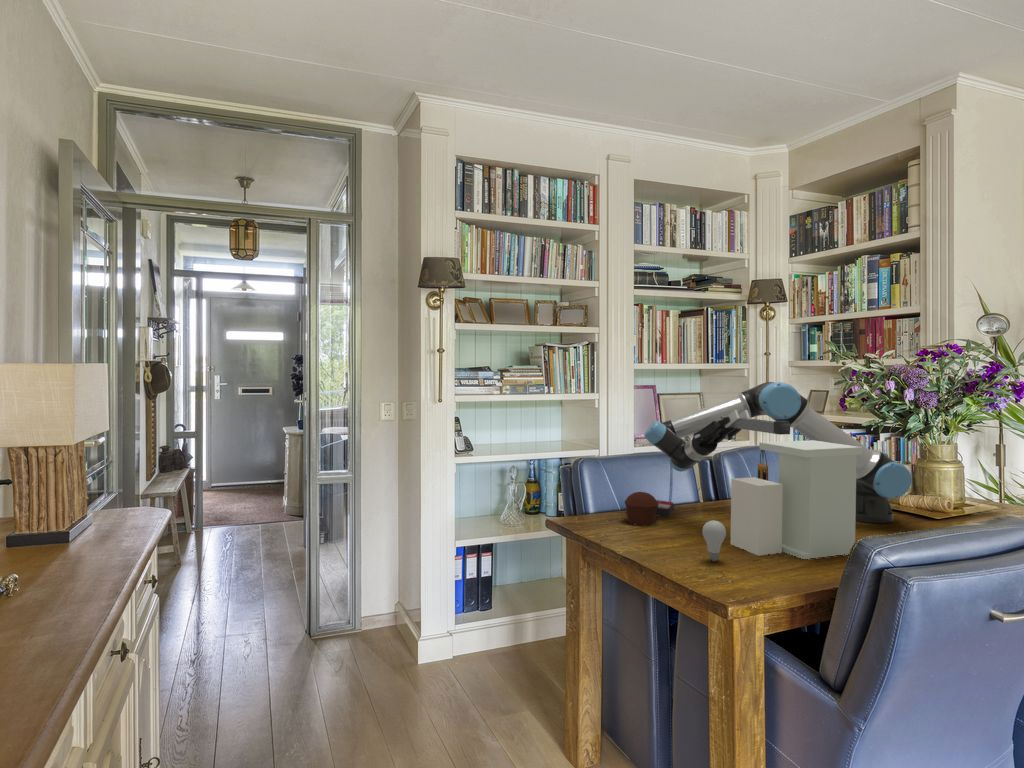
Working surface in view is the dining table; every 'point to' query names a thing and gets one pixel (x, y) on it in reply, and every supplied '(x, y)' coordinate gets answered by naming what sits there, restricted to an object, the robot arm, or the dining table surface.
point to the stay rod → (761, 425)
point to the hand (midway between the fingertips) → (742, 414)
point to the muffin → (641, 508)
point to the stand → (817, 496)
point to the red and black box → (665, 508)
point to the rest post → (756, 515)
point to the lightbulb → (714, 538)
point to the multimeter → (763, 468)
